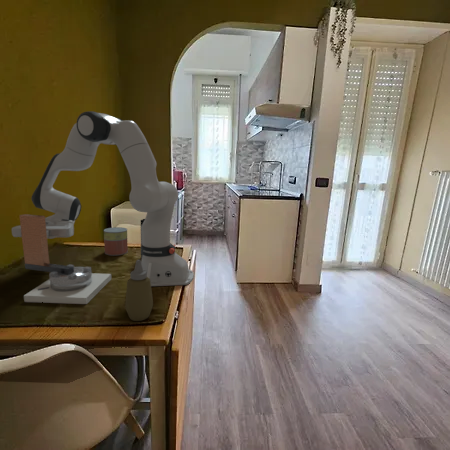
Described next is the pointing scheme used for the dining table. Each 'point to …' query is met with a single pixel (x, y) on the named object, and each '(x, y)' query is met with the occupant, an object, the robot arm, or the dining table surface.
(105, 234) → the canned food
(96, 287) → the white square board
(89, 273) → the silver brown l-shaped piece
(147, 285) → the squeeze bottle
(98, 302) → the dining table surface
